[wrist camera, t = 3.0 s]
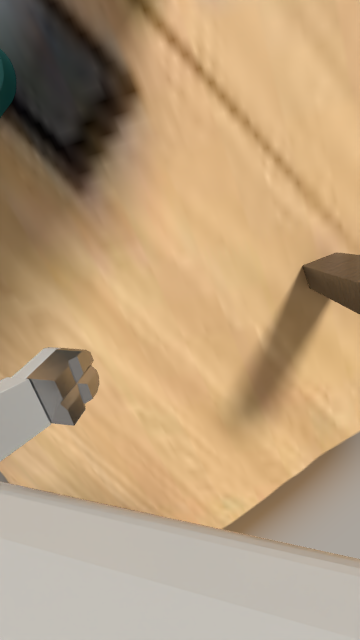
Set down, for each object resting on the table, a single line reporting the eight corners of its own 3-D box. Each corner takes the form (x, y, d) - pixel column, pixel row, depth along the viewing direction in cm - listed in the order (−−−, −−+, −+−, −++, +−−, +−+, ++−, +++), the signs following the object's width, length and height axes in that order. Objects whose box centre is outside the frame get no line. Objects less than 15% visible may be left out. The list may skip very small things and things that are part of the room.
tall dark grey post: (305, 289, 35) (392, 338, 18) (298, 267, 34) (381, 295, 17) (347, 274, 34) (483, 310, 17) (340, 250, 33) (474, 263, 16)
